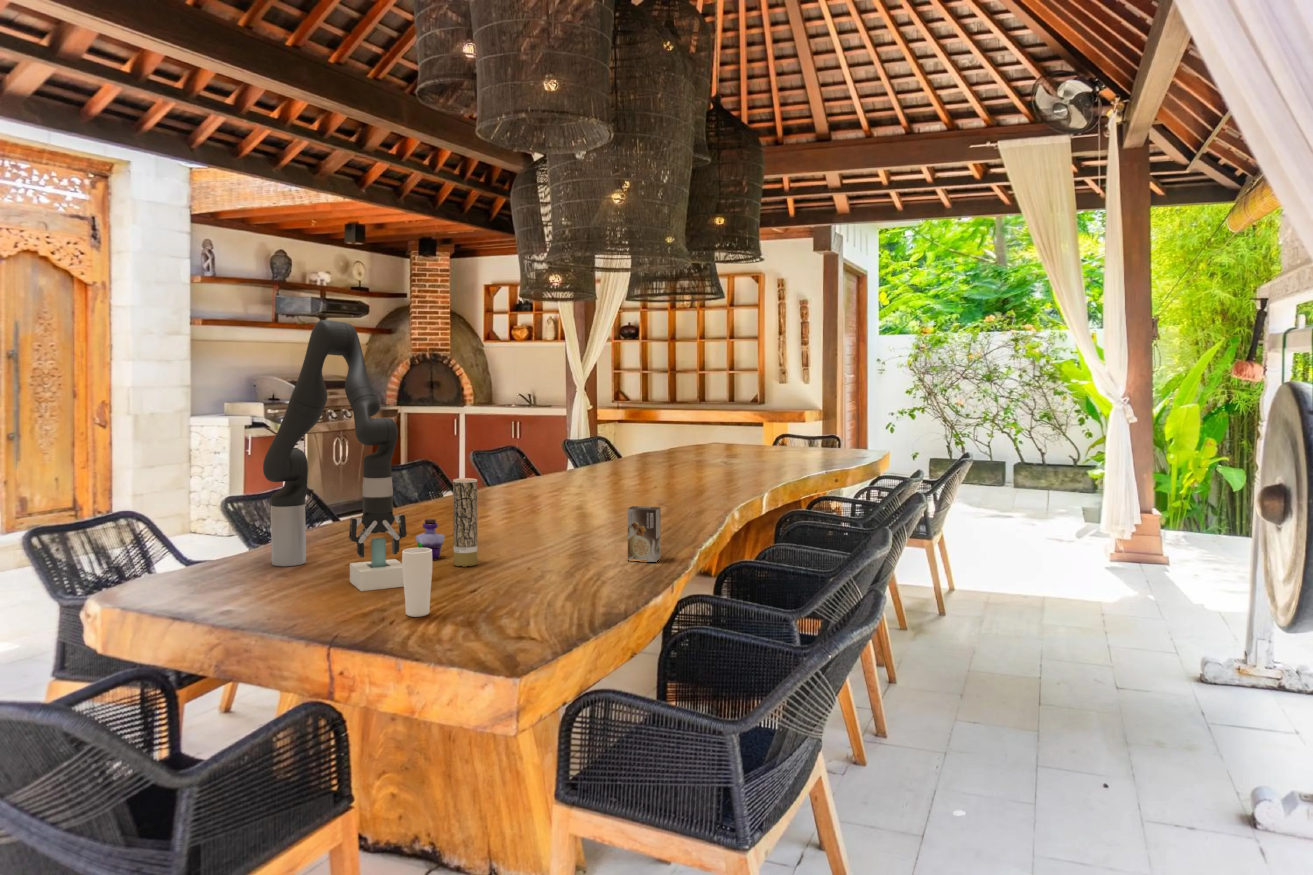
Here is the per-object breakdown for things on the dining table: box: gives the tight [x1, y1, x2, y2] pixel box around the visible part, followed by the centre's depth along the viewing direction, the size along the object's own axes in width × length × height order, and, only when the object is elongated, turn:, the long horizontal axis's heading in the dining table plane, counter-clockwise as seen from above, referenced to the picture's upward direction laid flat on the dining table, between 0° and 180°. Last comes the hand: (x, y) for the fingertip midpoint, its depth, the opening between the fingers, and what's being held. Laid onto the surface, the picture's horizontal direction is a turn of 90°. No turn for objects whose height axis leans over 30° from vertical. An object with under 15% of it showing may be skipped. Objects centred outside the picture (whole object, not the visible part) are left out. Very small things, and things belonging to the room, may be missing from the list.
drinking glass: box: [401, 547, 433, 618], centre depth 209 cm, size 7×7×15 cm
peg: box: [370, 537, 387, 568], centre depth 239 cm, size 4×4×12 cm
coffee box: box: [627, 505, 661, 561], centre depth 273 cm, size 9×6×16 cm
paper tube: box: [452, 477, 478, 568], centre depth 263 cm, size 7×7×25 cm
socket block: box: [349, 558, 404, 592], centre depth 239 cm, size 12×12×5 cm
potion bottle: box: [415, 518, 446, 561], centre depth 273 cm, size 9×9×12 cm
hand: (378, 555), depth 239 cm, fingers open, 8 cm apart
